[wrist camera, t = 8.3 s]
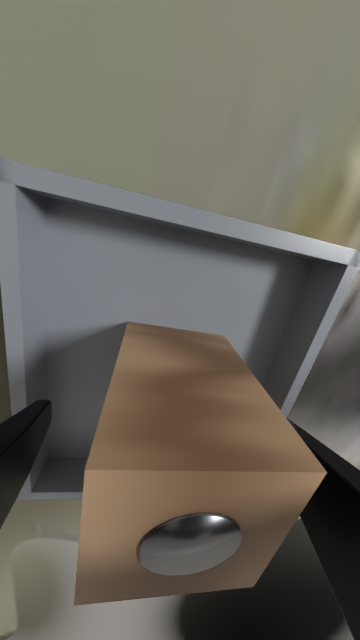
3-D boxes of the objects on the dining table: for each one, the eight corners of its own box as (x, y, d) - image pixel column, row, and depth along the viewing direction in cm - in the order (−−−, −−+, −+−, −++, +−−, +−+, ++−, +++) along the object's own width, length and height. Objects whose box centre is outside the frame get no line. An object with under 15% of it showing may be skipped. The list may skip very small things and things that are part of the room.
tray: (320, 249, 11) (367, 252, 8) (234, 458, 16) (248, 496, 13) (35, 178, 8) (-11, 154, 6) (42, 454, 13) (18, 500, 11)
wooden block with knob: (223, 335, 11) (330, 476, 4) (201, 408, 13) (254, 590, 6) (127, 321, 10) (83, 474, 4) (117, 403, 12) (72, 610, 5)
